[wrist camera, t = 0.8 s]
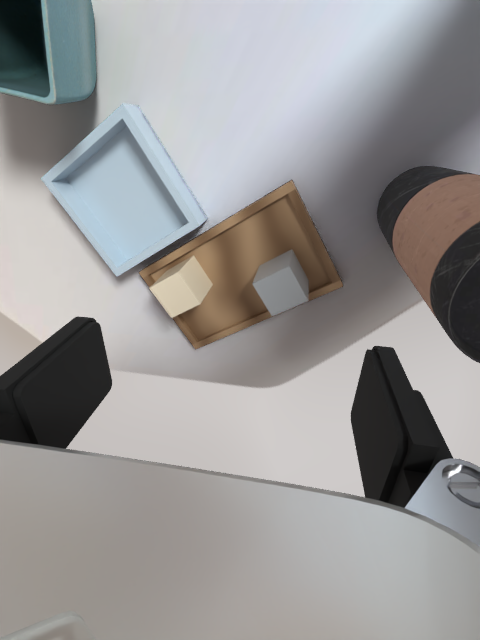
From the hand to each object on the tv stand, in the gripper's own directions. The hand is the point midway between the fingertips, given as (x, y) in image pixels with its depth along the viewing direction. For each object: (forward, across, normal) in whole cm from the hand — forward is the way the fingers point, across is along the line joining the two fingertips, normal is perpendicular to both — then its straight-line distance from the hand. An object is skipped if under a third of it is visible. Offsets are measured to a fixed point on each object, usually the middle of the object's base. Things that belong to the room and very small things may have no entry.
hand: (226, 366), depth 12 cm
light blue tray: (+26, +15, -1) cm, 30 cm away
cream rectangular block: (+26, +9, +7) cm, 28 cm away
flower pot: (+26, +19, -14) cm, 35 cm away
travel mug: (+25, -13, -2) cm, 29 cm away
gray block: (+25, -2, +6) cm, 26 cm away
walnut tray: (+26, +4, +7) cm, 27 cm away
